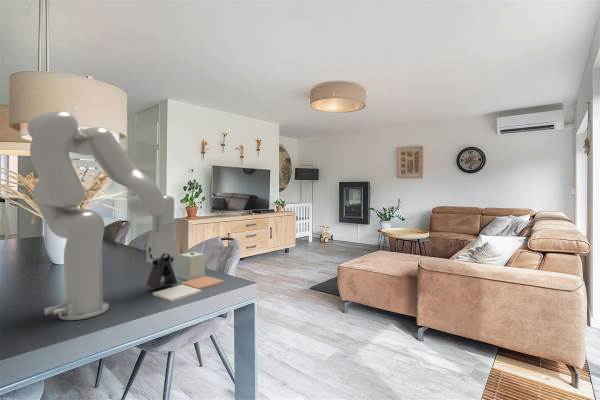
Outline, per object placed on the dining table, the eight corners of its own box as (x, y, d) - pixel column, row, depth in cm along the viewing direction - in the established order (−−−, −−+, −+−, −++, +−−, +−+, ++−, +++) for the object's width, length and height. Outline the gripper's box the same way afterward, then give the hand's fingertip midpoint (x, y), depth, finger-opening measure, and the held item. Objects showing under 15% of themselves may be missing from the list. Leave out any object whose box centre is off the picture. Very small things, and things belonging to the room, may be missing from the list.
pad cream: (171, 301, 105) (171, 299, 105) (152, 294, 112) (152, 292, 112) (201, 292, 115) (201, 290, 115) (182, 286, 122) (182, 284, 122)
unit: (190, 280, 130) (190, 255, 129) (179, 277, 134) (179, 253, 134) (205, 277, 136) (205, 252, 135) (194, 274, 140) (194, 250, 140)
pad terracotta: (199, 290, 118) (199, 288, 118) (180, 284, 125) (180, 282, 125) (224, 282, 127) (224, 280, 127) (205, 277, 134) (205, 275, 134)
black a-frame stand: (154, 288, 114) (154, 255, 114) (146, 285, 118) (146, 253, 118) (177, 283, 121) (177, 252, 121) (169, 281, 125) (169, 250, 125)
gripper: (176, 226, 128) (175, 271, 128) (137, 228, 115) (136, 279, 115) (187, 227, 124) (186, 274, 124) (148, 230, 111) (146, 282, 111)
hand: (162, 276), depth 119 cm, fingers closed on black a-frame stand
